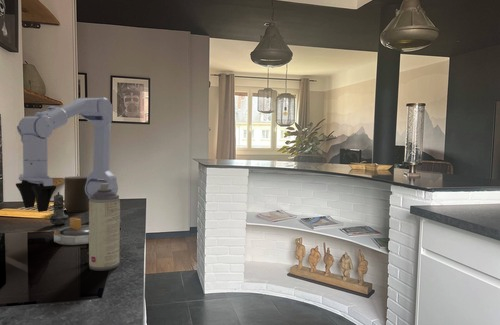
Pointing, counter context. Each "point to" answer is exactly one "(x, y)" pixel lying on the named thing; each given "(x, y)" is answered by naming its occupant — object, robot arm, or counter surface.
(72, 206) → the pillar candle
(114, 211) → the aerosol can
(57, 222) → the grey chess piece
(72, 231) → the dial
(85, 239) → the dial plate
